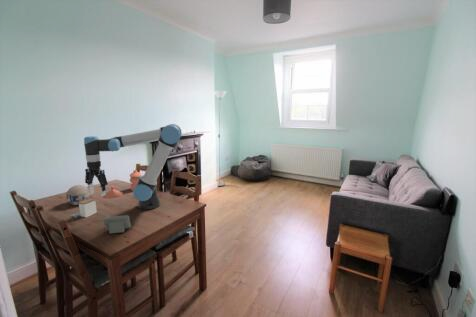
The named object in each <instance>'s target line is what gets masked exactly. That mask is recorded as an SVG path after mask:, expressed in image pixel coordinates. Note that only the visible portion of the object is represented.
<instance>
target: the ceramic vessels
mask: <svg viewBox="0 0 476 317" xmlns="http://www.w3.org/2000/svg"><path fill="white" fill-rule="evenodd" d="M139 176H142V173H140V172H138V170H137V169H134V170H133V172H132V173H130V174H129V177H130V178H129V182H130V183H131V185H130V187H129V188H130V190H131V191H133V189H134V187H135V186H136V185H137V183H138V181H139V180H138V179H139ZM105 193H106V195H105V196H101V197H102V198H103V199H106V200H107V199H108V200H109V199H115V198H119V197H121V196H123V195H124V192H123V191H120V190H118V189H115V186H114V185H111V186H110V190H108V191H107V192H105Z"/></svg>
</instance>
